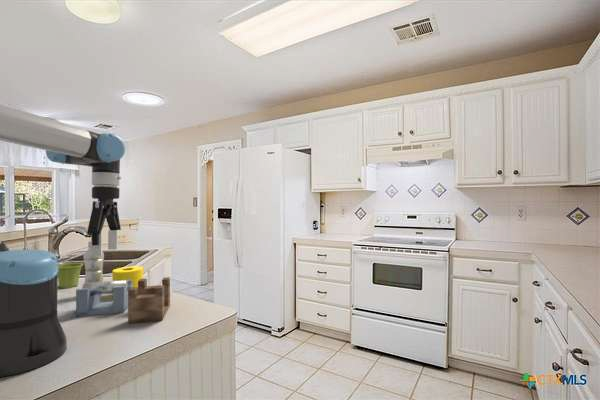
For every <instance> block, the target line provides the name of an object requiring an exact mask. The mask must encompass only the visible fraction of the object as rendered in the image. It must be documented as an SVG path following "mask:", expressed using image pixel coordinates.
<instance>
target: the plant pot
mask: <svg viewBox="0 0 600 400" xmlns="http://www.w3.org/2000/svg"><path fill="white" fill-rule="evenodd" d="M57 265H58V287H59V288H60V289H61V288H62V289H69V288H74V287H77V286H79V281H80V275H81V270H82V269H83V268H82V267H83V266H84V263H82V262H74V263H72V262H71V263H63V264H62V263H61V264H57Z"/></svg>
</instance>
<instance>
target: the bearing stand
mask: <svg viewBox="0 0 600 400" xmlns="http://www.w3.org/2000/svg"><path fill="white" fill-rule="evenodd" d="M147 283H148V279H147V278H143V279H140V280H139V281H138V287H131V288H130V289H129V290H128V308H127V325H129V324H139V323H141V324H142V323H149V322H151V323H153V322H160V321H163V319H165V316H166V314H167V313H168V311H169V309H170V306H171V276H170V277H169V276H168V277H163V278H162V279H161V284H160V285H159V284H158V285H148V284H147Z"/></svg>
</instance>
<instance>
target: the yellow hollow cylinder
mask: <svg viewBox="0 0 600 400" xmlns="http://www.w3.org/2000/svg"><path fill="white" fill-rule="evenodd" d="M140 279H144V267H143V266H140V265H139V266H138V265H137V266H135V265H133V266H123V267H118V268H115V269H113V270H112V281H120V280H132V287H138V281H139V280H140Z"/></svg>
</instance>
